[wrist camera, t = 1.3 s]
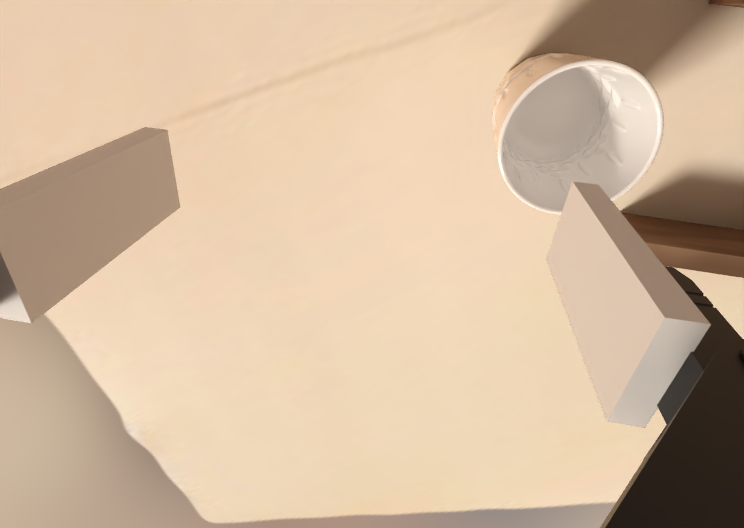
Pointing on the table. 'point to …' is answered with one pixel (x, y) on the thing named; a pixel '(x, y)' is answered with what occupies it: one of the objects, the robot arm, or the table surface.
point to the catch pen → (694, 235)
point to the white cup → (574, 127)
